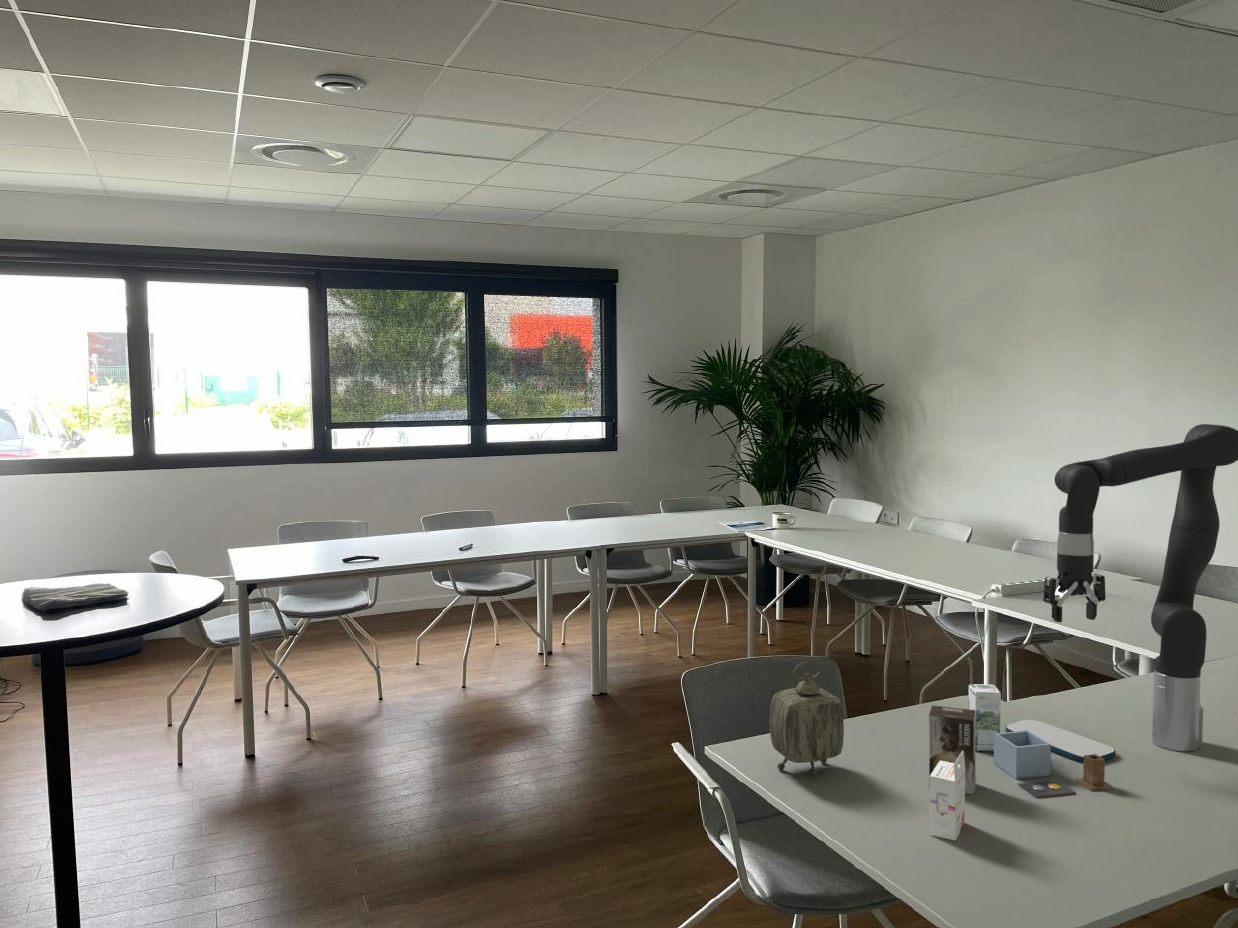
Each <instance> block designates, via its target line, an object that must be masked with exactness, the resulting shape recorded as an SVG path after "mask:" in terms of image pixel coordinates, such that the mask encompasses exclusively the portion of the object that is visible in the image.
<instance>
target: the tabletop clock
mask: <svg viewBox="0 0 1238 928" xmlns="http://www.w3.org/2000/svg"><path fill="white" fill-rule="evenodd" d="M806 665H815V666H817V667H818V669H819V671H818V672H817V673H816V674H814V675H812V676H811V675H810V673H808V672H807V673H805V675H804V677H803V676H802V677H801V676H798V675H796V671H797V670H798V669H799V668H801V667H802V666H806ZM822 670H823V669H822V666H821V664H819V662H816V661H814V660H806V661H802V662H799V663H798V664H796V666H795V667H794V669H793V670H792V671H793V672H792V673H793V676H794V678H796V679H797V680H798V681H799V680H800V682H799V683H798V684H797V686H796V687H792V688H787V689H784V690H780V691H779V692H777V693H775V694H773V696H772V699H771V702H770V708H769V709H770V710H769V734H770V741H771V744H772V746H773V749H774V750H775V751H776V752H778V753H779V754H780V755H782V756H783V757H784V760H783V761H782V762H779V763H778V764H777V769H778V770H780V771H784V770H785V765H786V763H787V762H788V761H789V762H792V763H795V764H796V763H797V764H801V763H802V764H803V763H810V766H811V768H810V769H809V774H810V775H811V776H812V777H813V776H814V777H815V776H817V774H818V770H817V769H816V768H815V762H819V761H820V763H821V764H827V761H828V760H829V759H831V758H836V757H837V756H839V755H840V754H841V753H842V750H843V747H844V734H845V724H844V723H845V722H844V711H843V710H844V709H843V705H842V702H841V700H840V698H838V697H837V696H835V695H833V694H832V693H830V692H829V691H828V690H825V689H823V687H819V686H818V684H817V683H816V682H814V681H813V680H815V679H816V678H817V677H819V676H820V675H821V673H822Z"/></svg>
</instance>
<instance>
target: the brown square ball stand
mask: <svg viewBox="0 0 1238 928" xmlns="http://www.w3.org/2000/svg"><path fill="white" fill-rule="evenodd" d="M1105 762H1106V761H1105V759H1103V758H1102V757H1100V756H1098V755H1096V754H1092V755H1084V764H1083V776H1082V777H1075V778H1074V781H1075V782H1076V783H1077V784H1080V785H1081V786H1082V787H1084V788H1085V789H1087V790H1088V791H1091V792H1093V791H1095V792H1096V791H1103V790H1104V791H1106V790H1113V789H1114V788H1113V785H1111V784H1110V783H1108V782H1107V781H1105V770H1106V769H1105V766H1106V763H1105Z"/></svg>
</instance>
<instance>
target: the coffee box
mask: <svg viewBox="0 0 1238 928" xmlns="http://www.w3.org/2000/svg"><path fill="white" fill-rule="evenodd" d="M928 747H929V748H928V749H929V750H928V751H929V752H928V753H929V754H928V756H929V757H928V761H929V762H928V771H929V772H928V774H929V775H928V776H929V777H928V779H929V780H928V781H929V782H928V784H929V785H928V788H929V789H930V775H931V773H932V772H933V770H934V769H935V767H936V766H937V764H938V763H939V761H946V762H951V763H955V762H956V760H957V758H958V757H959V755H960V754H961V752H962V751H964V761H965V794H969V795H975V791H976V784H977V783H976V778H977V777H976V751H975V710H969V709H968V708H959V707H951V706H950V707H949V706H942V705H941V706H939V705H931V708H930V711H929V713H928ZM959 764H961V761H960V762H959Z"/></svg>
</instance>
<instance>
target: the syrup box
mask: <svg viewBox="0 0 1238 928" xmlns="http://www.w3.org/2000/svg"><path fill="white" fill-rule="evenodd" d="M1001 701H1002V693H1001V691H1000V690H999V688H997V687H996V685H994V684H984V683H983V684H981V683H980V684H979V683H978V684H973V683H972V684H968V703H967V704H968V705H967V706H968V708H967V709H969V710H975V752H993V753H994V734H995V733H1001V708H1002V707H1001V706H1002V704H1001V703H1002V702H1001Z"/></svg>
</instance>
